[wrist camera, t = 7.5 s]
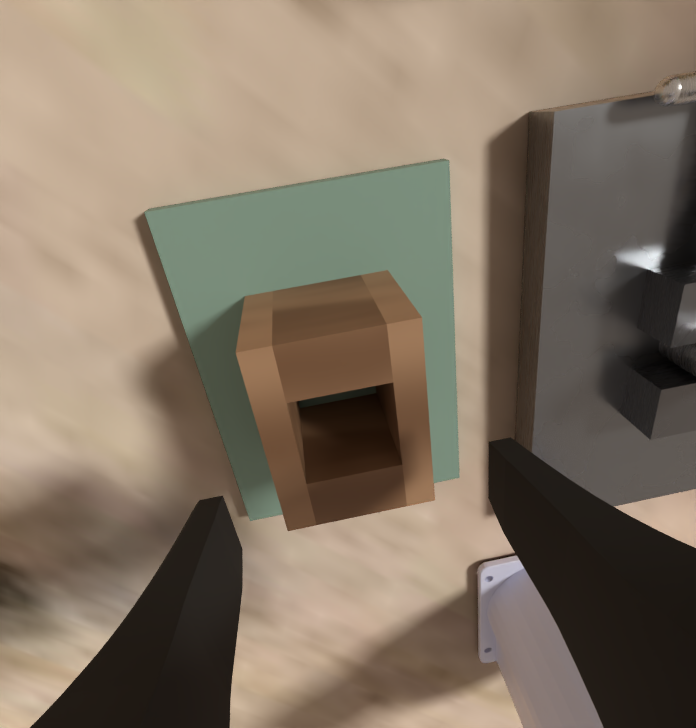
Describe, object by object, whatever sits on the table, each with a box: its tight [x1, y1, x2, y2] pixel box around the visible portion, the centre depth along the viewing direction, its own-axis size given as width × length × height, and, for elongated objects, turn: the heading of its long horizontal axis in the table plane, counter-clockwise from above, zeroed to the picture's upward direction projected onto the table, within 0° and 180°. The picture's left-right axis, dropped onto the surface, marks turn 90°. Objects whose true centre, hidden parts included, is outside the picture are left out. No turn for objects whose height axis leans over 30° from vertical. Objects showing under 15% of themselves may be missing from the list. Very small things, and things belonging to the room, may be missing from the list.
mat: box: [144, 159, 459, 521], centre depth 19 cm, size 14×10×1 cm
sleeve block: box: [236, 270, 435, 531], centre depth 16 cm, size 7×5×4 cm
